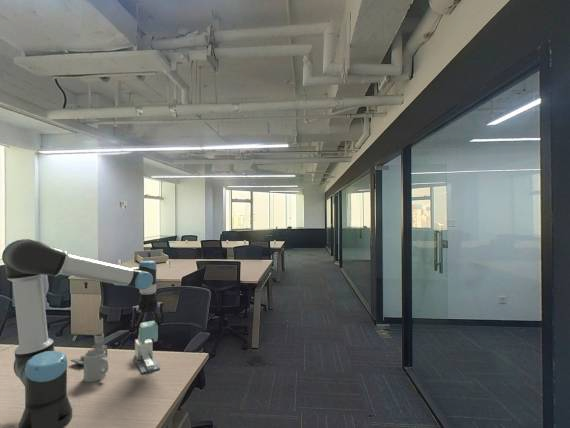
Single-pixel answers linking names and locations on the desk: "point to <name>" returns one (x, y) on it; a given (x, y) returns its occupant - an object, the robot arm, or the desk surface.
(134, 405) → the desk surface
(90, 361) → the mug
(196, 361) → the desk surface
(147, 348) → the light grey angular piece
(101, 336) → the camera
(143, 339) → the block
